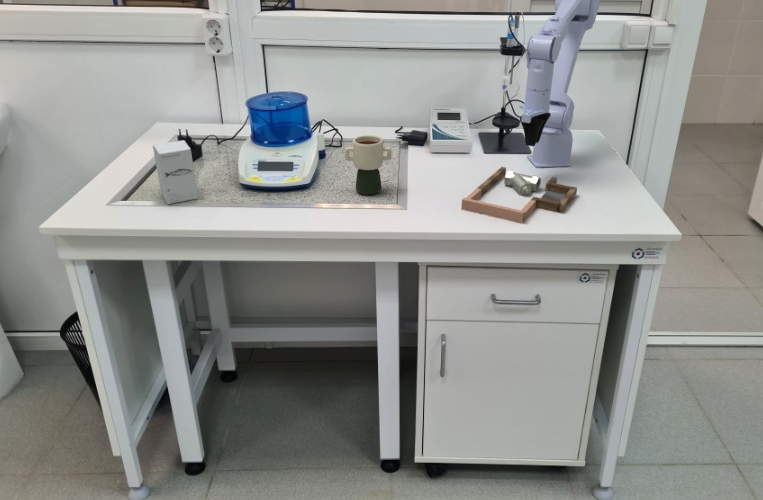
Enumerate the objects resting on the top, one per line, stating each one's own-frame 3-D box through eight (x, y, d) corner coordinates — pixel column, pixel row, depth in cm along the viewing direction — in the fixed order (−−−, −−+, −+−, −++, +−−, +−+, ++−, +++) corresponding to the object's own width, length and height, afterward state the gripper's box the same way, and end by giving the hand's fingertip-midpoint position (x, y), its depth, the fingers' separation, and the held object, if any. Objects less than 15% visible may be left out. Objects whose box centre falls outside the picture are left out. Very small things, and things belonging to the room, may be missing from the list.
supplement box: (167, 205, 147) (157, 153, 141) (161, 194, 152) (151, 143, 146) (199, 199, 150) (191, 148, 144) (191, 188, 155) (184, 138, 149)
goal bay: (476, 195, 151) (477, 186, 150) (534, 208, 144) (536, 199, 143) (461, 209, 144) (462, 199, 143) (522, 223, 138) (523, 213, 137)
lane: (501, 174, 163) (501, 166, 162) (580, 189, 154) (581, 182, 153) (476, 195, 151) (476, 188, 150) (560, 214, 142) (562, 206, 141)
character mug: (390, 185, 157) (391, 134, 150) (391, 197, 150) (391, 144, 144) (346, 185, 157) (345, 134, 150) (345, 197, 150) (343, 145, 144)
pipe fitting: (530, 200, 150) (540, 188, 155) (531, 185, 148) (541, 174, 153) (498, 193, 154) (509, 182, 158) (499, 179, 152) (510, 168, 156)
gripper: (532, 79, 156) (526, 132, 162) (511, 93, 145) (506, 149, 152) (560, 83, 153) (553, 137, 159) (541, 97, 142) (534, 154, 148)
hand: (532, 143), depth 155 cm, fingers closed
